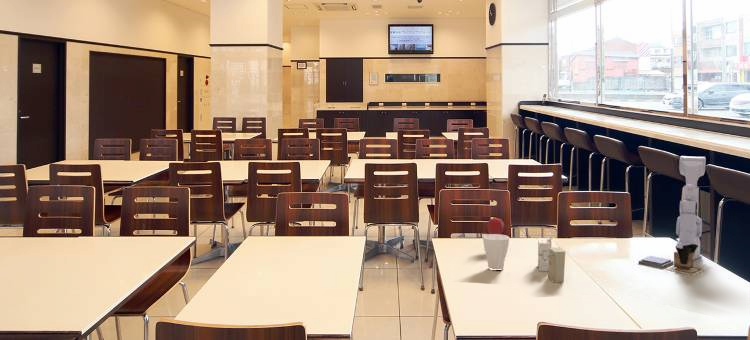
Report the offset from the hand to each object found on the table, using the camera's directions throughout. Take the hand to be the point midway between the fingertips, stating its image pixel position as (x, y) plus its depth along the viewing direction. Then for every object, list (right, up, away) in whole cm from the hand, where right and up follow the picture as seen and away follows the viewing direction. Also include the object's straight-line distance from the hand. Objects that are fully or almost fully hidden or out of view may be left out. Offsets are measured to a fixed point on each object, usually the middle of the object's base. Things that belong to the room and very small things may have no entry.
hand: (685, 262), depth 248 cm
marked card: (0, -3, 0) cm, 3 cm away
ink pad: (-8, -2, +9) cm, 12 cm away
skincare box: (-56, -5, -11) cm, 57 cm away
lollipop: (-70, 0, +34) cm, 78 cm away
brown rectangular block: (-1, -2, +1) cm, 2 cm away
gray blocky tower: (-56, -3, +4) cm, 56 cm away
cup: (-76, -3, +4) cm, 76 cm away
